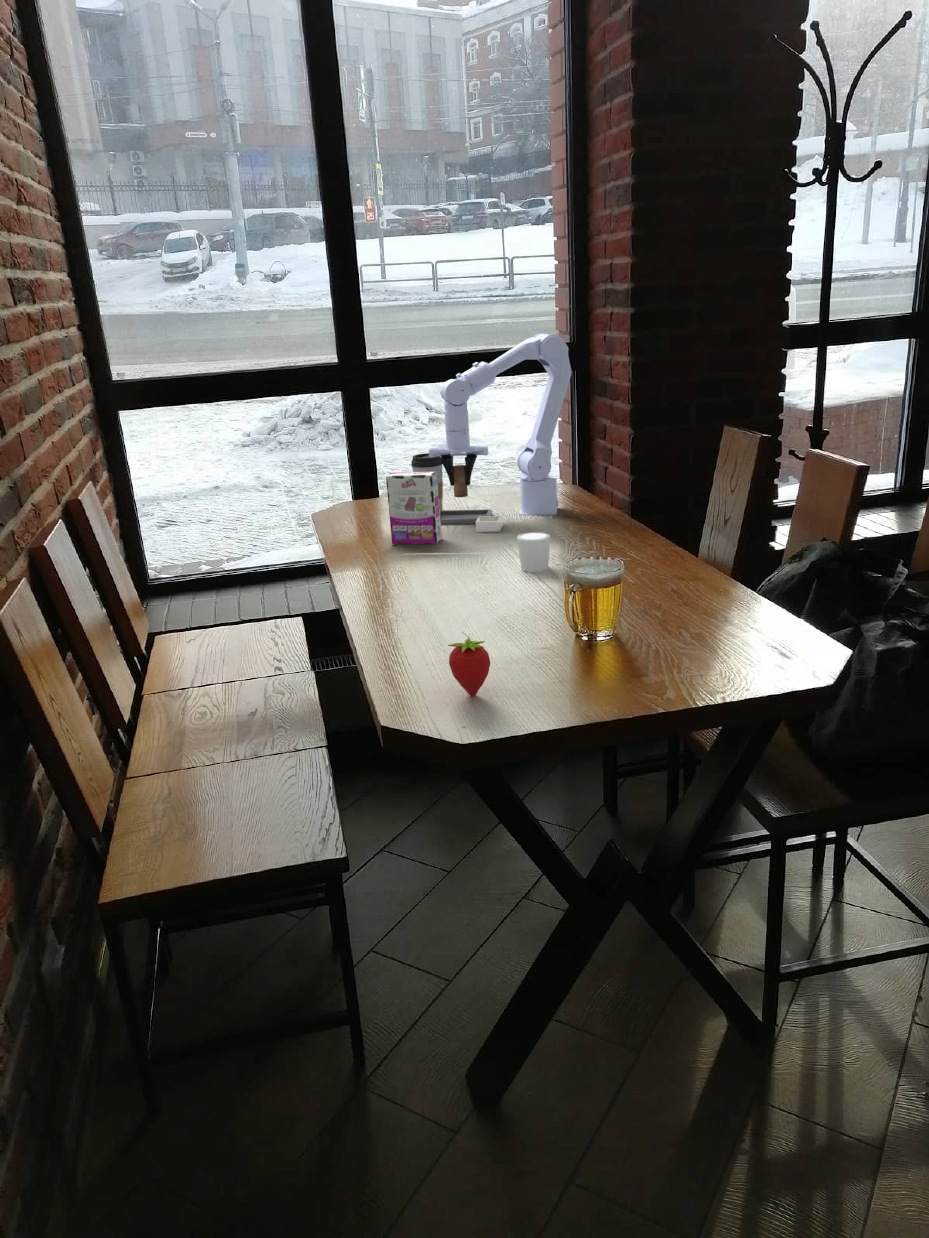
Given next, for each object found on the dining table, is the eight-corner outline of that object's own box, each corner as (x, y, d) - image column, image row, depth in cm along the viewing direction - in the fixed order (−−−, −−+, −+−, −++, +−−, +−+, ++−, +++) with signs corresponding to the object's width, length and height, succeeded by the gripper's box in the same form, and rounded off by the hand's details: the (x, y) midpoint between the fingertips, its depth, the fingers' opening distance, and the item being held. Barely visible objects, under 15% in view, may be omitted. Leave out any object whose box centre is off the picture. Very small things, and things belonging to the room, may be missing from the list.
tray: (492, 515, 239) (491, 509, 238) (487, 525, 230) (487, 518, 229) (438, 516, 241) (438, 510, 241) (432, 526, 232) (431, 520, 231)
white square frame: (502, 526, 227) (502, 515, 226) (500, 533, 222) (499, 521, 221) (479, 527, 228) (478, 516, 227) (476, 533, 223) (475, 522, 222)
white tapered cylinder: (549, 573, 189) (548, 540, 187) (515, 573, 191) (514, 540, 188) (552, 563, 196) (552, 531, 193) (520, 563, 197) (519, 531, 195)
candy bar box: (442, 540, 219) (438, 470, 213) (437, 545, 214) (432, 475, 209) (397, 539, 222) (391, 471, 216) (391, 545, 217) (385, 475, 212)
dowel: (468, 494, 235) (466, 464, 232) (467, 497, 231) (465, 467, 229) (454, 494, 235) (453, 465, 232) (453, 497, 232) (451, 467, 229)
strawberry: (455, 709, 132) (451, 643, 128) (447, 687, 139) (443, 625, 135) (496, 703, 132) (493, 638, 129) (486, 683, 139) (483, 620, 136)
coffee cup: (410, 515, 244) (405, 458, 239) (420, 508, 251) (416, 452, 246) (440, 516, 241) (436, 458, 236) (450, 508, 249) (446, 452, 244)
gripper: (425, 433, 225) (429, 489, 230) (484, 431, 223) (487, 487, 227) (430, 429, 232) (433, 483, 236) (488, 427, 229) (490, 481, 234)
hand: (460, 484), depth 232 cm, fingers closed on dowel, 3 cm apart
